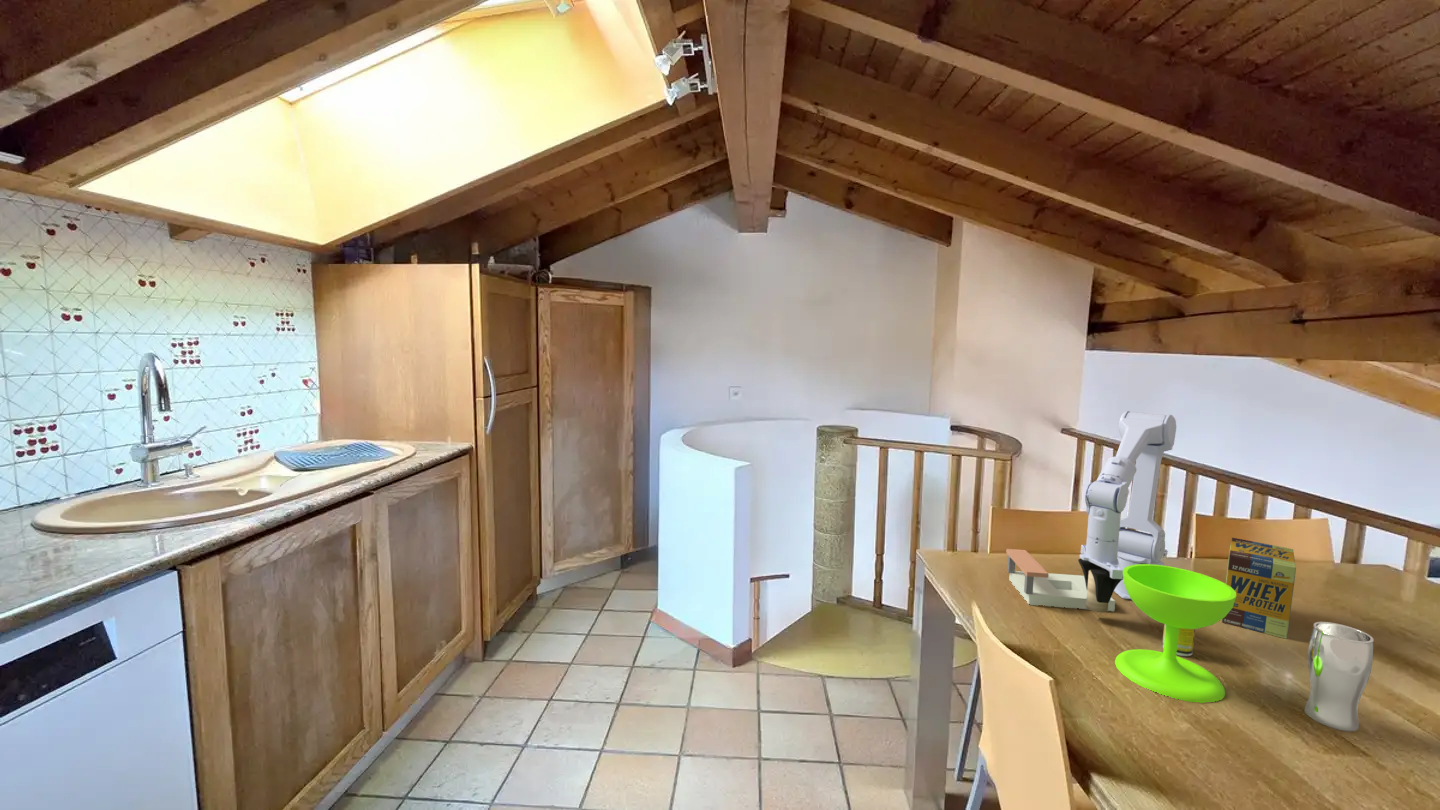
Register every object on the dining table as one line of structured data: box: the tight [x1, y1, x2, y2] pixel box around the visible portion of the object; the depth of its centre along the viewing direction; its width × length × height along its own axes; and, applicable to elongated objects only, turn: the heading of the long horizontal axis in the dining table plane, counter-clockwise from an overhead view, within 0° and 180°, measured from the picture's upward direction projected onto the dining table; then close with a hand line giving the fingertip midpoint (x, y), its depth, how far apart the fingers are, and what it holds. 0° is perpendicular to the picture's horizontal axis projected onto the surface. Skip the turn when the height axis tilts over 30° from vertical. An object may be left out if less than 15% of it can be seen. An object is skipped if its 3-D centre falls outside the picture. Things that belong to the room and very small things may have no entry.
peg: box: [1086, 570, 1109, 614], centre depth 126 cm, size 4×4×8 cm
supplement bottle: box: [1161, 624, 1196, 657], centre depth 114 cm, size 5×5×8 cm
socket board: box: [1008, 570, 1116, 612], centre depth 139 cm, size 18×14×2 cm
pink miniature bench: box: [1005, 548, 1049, 595], centre depth 140 cm, size 4×15×6 cm, turn 170°
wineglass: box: [1114, 564, 1236, 704], centre depth 105 cm, size 16×16×18 cm
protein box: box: [1221, 537, 1297, 639], centre depth 127 cm, size 10×15×16 cm
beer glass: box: [1304, 621, 1374, 732], centre depth 93 cm, size 7×7×15 cm
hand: (1097, 597), depth 126 cm, fingers closed on peg, 4 cm apart
